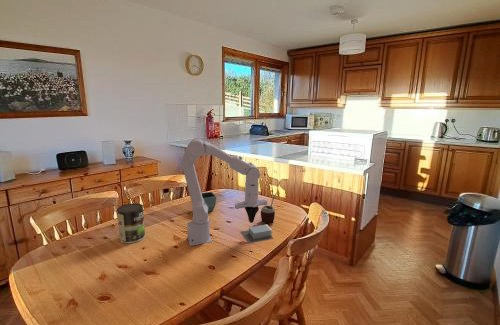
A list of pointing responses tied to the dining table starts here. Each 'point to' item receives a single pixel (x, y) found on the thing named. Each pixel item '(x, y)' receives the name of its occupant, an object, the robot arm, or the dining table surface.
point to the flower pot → (209, 200)
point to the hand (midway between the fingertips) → (251, 221)
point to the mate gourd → (268, 213)
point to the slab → (260, 231)
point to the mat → (250, 239)
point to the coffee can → (131, 223)
